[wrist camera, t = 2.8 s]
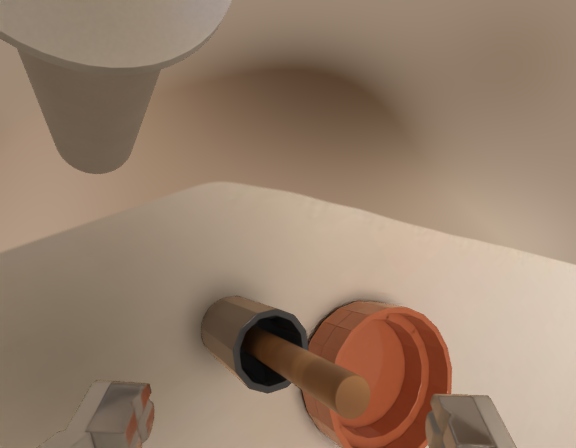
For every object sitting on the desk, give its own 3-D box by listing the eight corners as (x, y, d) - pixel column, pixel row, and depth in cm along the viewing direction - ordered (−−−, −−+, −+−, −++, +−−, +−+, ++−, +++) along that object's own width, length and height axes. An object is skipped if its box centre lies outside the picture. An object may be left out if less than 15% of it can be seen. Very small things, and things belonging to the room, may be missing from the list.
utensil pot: (215, 287, 39) (251, 299, 30) (268, 307, 41) (317, 323, 32) (191, 349, 37) (221, 381, 28) (248, 366, 39) (293, 400, 30)
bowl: (325, 282, 44) (358, 286, 38) (425, 323, 50) (465, 332, 44) (279, 425, 41) (307, 452, 35) (391, 452, 46) (430, 478, 41)
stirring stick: (227, 313, 38) (342, 370, 20) (247, 320, 39) (376, 380, 21) (218, 336, 38) (329, 414, 20) (239, 342, 39) (363, 423, 21)
